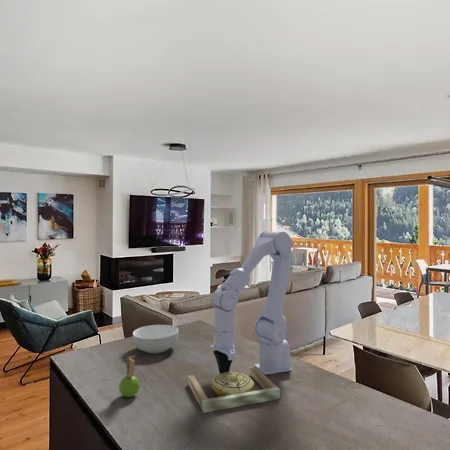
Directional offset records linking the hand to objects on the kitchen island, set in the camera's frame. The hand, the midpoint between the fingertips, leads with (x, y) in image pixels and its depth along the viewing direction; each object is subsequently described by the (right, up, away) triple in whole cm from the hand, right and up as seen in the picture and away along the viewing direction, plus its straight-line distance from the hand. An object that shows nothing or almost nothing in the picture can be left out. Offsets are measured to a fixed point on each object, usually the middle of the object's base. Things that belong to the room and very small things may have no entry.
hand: (224, 375), depth 106 cm
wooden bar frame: (+2, -2, -6) cm, 7 cm away
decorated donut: (+2, -2, -7) cm, 7 cm away
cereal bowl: (-25, -2, +27) cm, 37 cm away
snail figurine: (-25, -2, -9) cm, 27 cm away
